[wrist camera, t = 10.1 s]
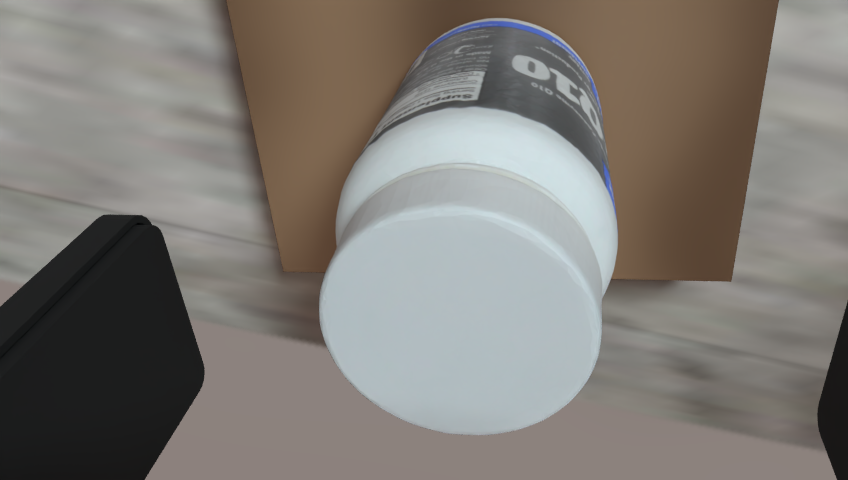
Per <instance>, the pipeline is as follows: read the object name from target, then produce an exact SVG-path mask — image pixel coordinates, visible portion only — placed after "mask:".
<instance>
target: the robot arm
mask: <svg viewBox="0 0 848 480" xmlns="http://www.w3.org/2000/svg"><path fill="white" fill-rule="evenodd" d="M203 381H204V364H203V361H202V358H201V354H200V351H199V348H198V345H197V342H196V339H195V335H194V333H193V329H192V326H191V323H190V320H189V316H188V313H187V310H186V307H185V304H184V301H183V297H182V294H181V291H180V288H179V285H178V282H177V279H176V275H175V272H174V269H173V266H172V263H171V260H170V256H169V253H168V250H167V247H166V244H165V241H164V237H163V235H162V232H161V230H160V229H159V228H158V227H156V226H154V225H152V224H151V222H150V221H149V220H148V219H147V218H146V217H144V216H142V215H102V216H101V217H99V218H98V219H96V220H95V221H94V222H93V223H92V224H91V225H90V226H89V227H88V228H87V229H85V230H84V231H83V232H82V233H81V234H80V235H79V236H78V237H77V238H76V239H74V240H73V241H72V242H71V243H70V244H69V245H68V246H67V247H66V248H64V249H63V250H62V251H61V252H60V253H59V254H58V255H57V256H56V257H55V258H53V259H52V260H51V261H50V262H49V263H48V264H47V265H46V266H45V267H44V268H42V269H41V270H40V271H39V272H38V273H37V274H36V275H35V276H34V277H32V278H31V279H30V280H29V281H28V282H27V283H26V284H25V285H24V286H23V287H21V288H20V289H19V290H18V291H17V292H16V293H15V294H14V295H13V296H12V297H10V298H9V299H8V300H7V301H6V302H5V303H4V304H3V305H2V306H1V307H0V480H145V478H146V476H147V474H148V473H149V471H150V470H151V468H152V467H153V465H154V464H155V462H156V460H157V459H158V457H159V455H160V454H161V452H162V450H163V449H164V447H165V446H166V444H167V442H168V441H169V439H170V438H171V436H172V435H173V433H174V431H175V430H176V428H177V426H178V425H179V423H180V422H181V420H182V418H183V417H184V415H185V414H186V412H187V410H188V409H189V407H190V406H191V404H192V402H193V401H194V399H195V398H196V396H197V394H198V393H199V391H200V389H201V387H202V384H203ZM818 427H819V432H820V435H821V438H822V441H823V443H824V446H825V449H826V451H827V454H828V457H829V459H830V462H831V465H832V467H833V470H834V473H835V475H836V478H837V480H848V302H847V306H846V309H845V313H844V316H843V320H842V323H841V327H840V331H839V334H838V338H837V341H836V345H835V348H834V352H833V355H832V359H831V362H830V366H829V369H828V373H827V376H826V380H825V383H824V387H823V391H822V394H821V398H820V401H819V406H818Z"/></svg>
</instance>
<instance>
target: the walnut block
mask: <svg viewBox="0 0 848 480" xmlns="http://www.w3.org/2000/svg"><path fill="white" fill-rule="evenodd" d="M226 2H227V7H228V11H229V16H230V21H231V25H232V30H233V35H234V40H235V44H236V49H237V54H238V59H239V63H240V68H241V73H242V78H243V82H244V87H245V92H246V96H247V101H248V106H249V111H250V115H251V120H252V125H253V130H254V134H255V139H256V144H257V149H258V153H259V158H260V163H261V168H262V172H263V177H264V182H265V186H266V191H267V196H268V201H269V205H270V210H271V215H272V220H273V224H274V229H275V234H276V239H277V243H278V248H279V253H280V257H281V262H282V267H283V272H322V273H325V272H326V270H327V268H328V265H329V263H330V261H331V259H332V257H333V255H334V253H335V251H336V248H337V244H336V216H337V210H338V205H339V200H340V196H341V191H342V188H343V186H344V183H345V181H346V179H347V177H348V175H349V173H350V171H351V169H352V166H353V164H354V163H355V161H356V160H357V159H358V157H359V156H360V154H361V152H362V151H363V149H364V147H365V146H366V144H367V142H368V141H369V139H370V137H371V136H372V134H373V132H374V130H375V129H376V127H377V125H378V123H379V122H380V120H381V118H382V117H383V115H384V113H385V112H386V110H387V108H388V106H389V105H390V103H391V101H392V99H393V98H394V96H395V94H396V92H397V90H398V89H399V87H400V85H401V83H402V82H403V79H404V78H405V76H406V74H407V73H408V71H409V69H410V68H411V66H412V65H413V63H414V62H415V60H416V59H417V58H418V57H419V55H420V54H421V53H422V52H423V51H424V50H425V49H426V47H427V46H429V45H430V44H431V43H432V42H433V41H434V40H436V39H437V38H438V37H440V36H441V35H443V34H444V33H446V32H448V31H450V30H452V29H454V28H456V27H458V26H461V25H463V24H466V23H469V22H473V21H477V20H482V19H488V18H508V19H514V20H520V21H524V22H528V23H531V24H534V25H537V26H540V27H542V28H544V29H546V30H549V31H550V32H552V33H554V34H555V35H557V36H559V37H560V38H561V39H563V40H564V41H565V42H566V43H567V44H568V45H569V46H570V47H571V48H572V49H573V50H574V51H575V52H576V53H577V54H578V56H579V57H580V58H581V60H582V61H583V62H584V64H585V66H586V68H587V69H588V71H589V73H590V75H591V77H592V79H593V82H594V84H595V87H596V90H597V93H598V97H599V100H600V105H601V110H602V118H603V128H604V134H605V142H606V149H607V157H608V162H609V170H610V177H611V183H612V189H613V196H614V203H615V209H616V218H617V228H618V247H617V255H616V261H615V267H614V271H613V274H612V277H611V279H640V280H685V281H730V282H731V280H732V274H733V268H734V262H735V256H736V250H737V244H738V238H739V233H740V227H741V221H742V215H743V209H744V203H745V197H746V191H747V185H748V179H749V173H750V167H751V162H752V156H753V150H754V144H755V138H756V132H757V126H758V120H759V114H760V108H761V102H762V96H763V91H764V85H765V79H766V73H767V67H768V61H769V55H770V49H771V43H772V37H773V31H774V26H775V20H776V14H777V8H778V2H779V0H226Z"/></svg>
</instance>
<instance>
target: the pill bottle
mask: <svg viewBox="0 0 848 480" xmlns="http://www.w3.org/2000/svg"><path fill="white" fill-rule="evenodd" d="M336 244H337V248H336V251H335V253H334V255H333V257H332V259H331V261H330V263H329V265H328V268H327V270H326V272H325V275H324V278H323V281H322V285H321V290H320V295H319V320H320V327H321V331H322V335H323V338H324V341H325V344H326V346H327V348H328V351H329V353H330V354H331V356H332V358H333V360H334V362H335V363H336V365H337V366H338V368H339V369H340V371H341V372H342V374H343V375H344V376H345V377H346V379H347V380H348V381H349V382H350V383H351V384H352V385H353V386H354V387H355V388H356V389H357V390H358V391H359V392H360V393H361V394H362V395H363V396H365V397H366V398H367V399H368V400H370V401H371V402H372V403H374V404H375V405H377V406H378V407H380V408H381V409H383V410H385V411H387V412H389V413H390V414H392V415H394V416H396V417H398V418H399V419H401V420H404V421H406V422H408V423H411V424H414V425H417V426H420V427H422V428H426V429H430V430H434V431H438V432H442V433H448V434H459V435H460V434H461V435H463V434H464V435H492V434H499V433H505V432H510V431H515V430H518V429H522V428H525V427H528V426H531V425H533V424H536V423H538V422H541V421H543V420H545V419H546V418H548V417H549V416H551V415H553V414H555V413H556V412H558V411H559V410H560V409H562V408H563V407H564V406H566V405H567V404H568V403H569V402H570V401H571V400H572V399H573V398H574V397H575V396H576V395H577V394H578V392H579V391H580V390H581V389H582V387H583V386H584V385H585V383H586V382H587V380H588V379H589V377H590V375H591V373H592V371H593V369H594V367H595V364H596V362H597V359H598V355H599V350H600V344H601V338H602V309H601V306H602V297H603V296H604V294H605V292H606V290H607V287H608V285H609V282H610V280H611V277H612V274H613V271H614V267H615V261H616V255H617V247H618V228H617V218H616V209H615V203H614V196H613V189H612V183H611V177H610V170H609V162H608V157H607V149H606V142H605V134H604V128H603V118H602V110H601V105H600V100H599V97H598V93H597V90H596V87H595V84H594V82H593V79H592V77H591V75H590V73H589V71H588V69H587V68H586V66H585V64H584V62H583V61H582V60H581V58H580V57H579V56H578V54H577V53H576V52H575V51H574V50H573V49H572V48H571V47H570V46H569V45H568V44H567V43H566V42H565V41H564V40H563V39H561V38H560V37H559V36H557V35H555V34H554V33H552V32H550V31H549V30H546V29H544V28H542V27H540V26H537V25H534V24H531V23H528V22H524V21H520V20H514V19H508V18H488V19H482V20H477V21H473V22H469V23H466V24H463V25H461V26H458V27H456V28H454V29H452V30H450V31H448V32H446V33H444V34H443V35H441V36H440V37H438V38H437V39H436V40H434V41H433V42H432V43H431V44H430V45H429V46H427V47H426V49H425V50H424V51H423V52H422V53H421V54H420V55H419V57H418V58H417V59H416V60H415V62H414V63H413V65H412V66H411V68H410V69H409V71H408V73H407V74H406V76H405V78H404V79H403V82H402V83H401V85H400V87H399V89H398V90H397V92H396V94H395V96H394V98H393V99H392V101H391V103H390V105H389V106H388V108H387V110H386V112H385V113H384V115H383V117H382V118H381V120H380V122H379V123H378V125H377V127H376V129H375V130H374V132H373V134H372V136H371V137H370V139H369V141H368V142H367V144H366V146H365V147H364V149H363V151H362V152H361V154H360V156H359V157H358V159H357V160H356V161H355V163H354V164H353V166H352V169H351V171H350V173H349V175H348V177H347V179H346V181H345V183H344V186H343V188H342V191H341V196H340V200H339V205H338V210H337V216H336Z"/></svg>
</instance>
